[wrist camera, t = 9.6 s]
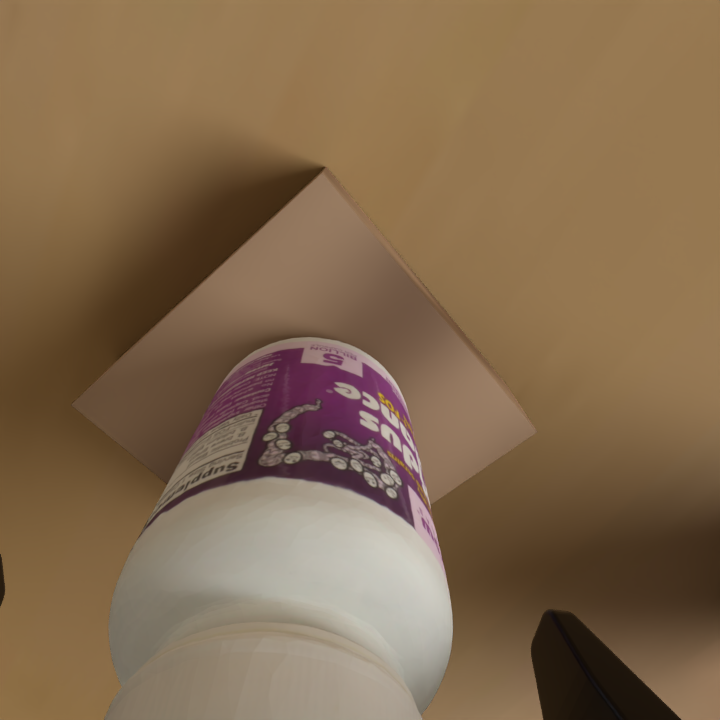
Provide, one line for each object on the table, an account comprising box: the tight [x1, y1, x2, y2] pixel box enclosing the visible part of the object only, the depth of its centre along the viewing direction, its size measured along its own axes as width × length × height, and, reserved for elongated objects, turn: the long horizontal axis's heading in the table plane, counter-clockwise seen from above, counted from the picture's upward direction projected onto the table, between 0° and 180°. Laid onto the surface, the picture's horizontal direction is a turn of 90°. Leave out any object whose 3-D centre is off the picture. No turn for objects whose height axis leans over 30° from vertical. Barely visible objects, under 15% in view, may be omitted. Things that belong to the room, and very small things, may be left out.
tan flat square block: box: [71, 167, 537, 505], centre depth 16 cm, size 9×9×3 cm
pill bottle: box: [104, 337, 453, 720], centre depth 10 cm, size 5×5×10 cm
